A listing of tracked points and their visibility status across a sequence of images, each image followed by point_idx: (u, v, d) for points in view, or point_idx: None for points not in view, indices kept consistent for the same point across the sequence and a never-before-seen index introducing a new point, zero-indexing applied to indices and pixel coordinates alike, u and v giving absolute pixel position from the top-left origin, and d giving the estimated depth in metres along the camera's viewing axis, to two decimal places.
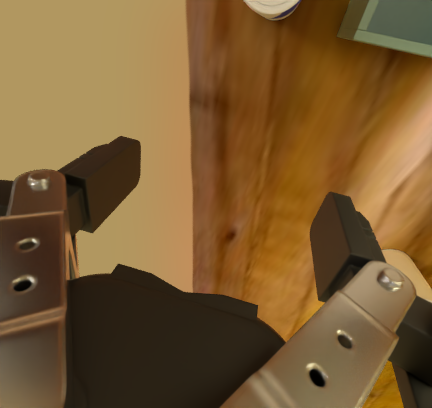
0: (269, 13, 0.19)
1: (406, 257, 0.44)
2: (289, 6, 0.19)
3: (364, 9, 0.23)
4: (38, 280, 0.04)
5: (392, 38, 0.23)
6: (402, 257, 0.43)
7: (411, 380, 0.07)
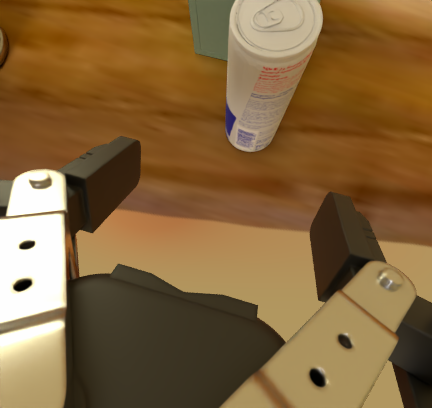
0: (321, 21, 0.15)
1: None
2: (316, 0, 0.16)
3: None
4: (38, 280, 0.04)
5: None
6: None
7: (411, 380, 0.07)
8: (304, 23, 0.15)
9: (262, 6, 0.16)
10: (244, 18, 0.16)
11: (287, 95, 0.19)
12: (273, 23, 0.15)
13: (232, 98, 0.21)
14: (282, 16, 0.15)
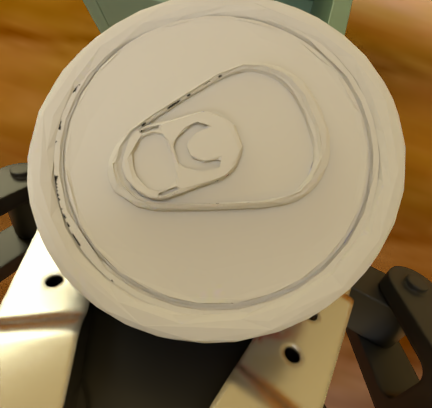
0: (402, 165, 0.04)
1: None
2: (375, 75, 0.04)
3: None
4: None
5: None
6: None
7: (364, 345, 0.07)
8: (331, 174, 0.04)
9: (166, 98, 0.04)
10: (89, 147, 0.04)
11: None
12: (198, 181, 0.04)
13: None
14: (237, 144, 0.04)
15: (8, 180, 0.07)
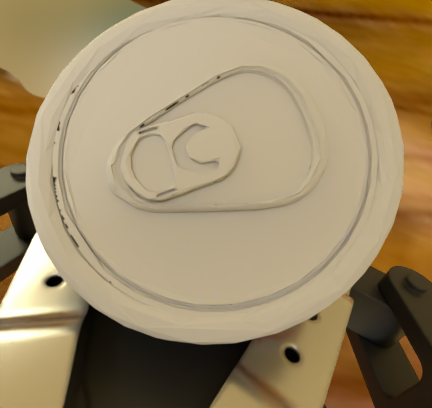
0: (400, 166, 0.04)
1: None
2: (373, 76, 0.04)
3: None
4: None
5: None
6: None
7: (364, 345, 0.07)
8: (330, 175, 0.04)
9: (164, 99, 0.04)
10: (87, 149, 0.04)
11: None
12: (197, 182, 0.04)
13: None
14: (236, 146, 0.04)
15: (8, 180, 0.07)
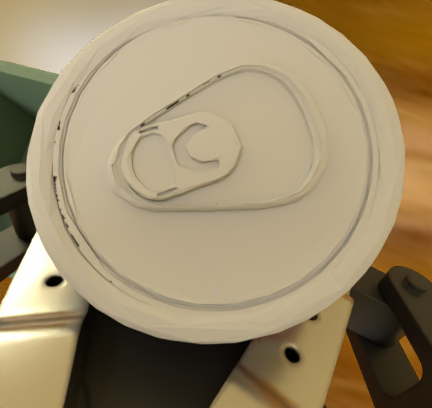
0: (401, 166, 0.04)
1: None
2: (374, 75, 0.04)
3: (10, 275, 0.14)
4: None
5: None
6: None
7: (364, 345, 0.07)
8: (330, 174, 0.04)
9: (165, 98, 0.04)
10: (88, 148, 0.04)
11: None
12: (197, 181, 0.04)
13: None
14: (236, 144, 0.04)
15: (8, 180, 0.07)
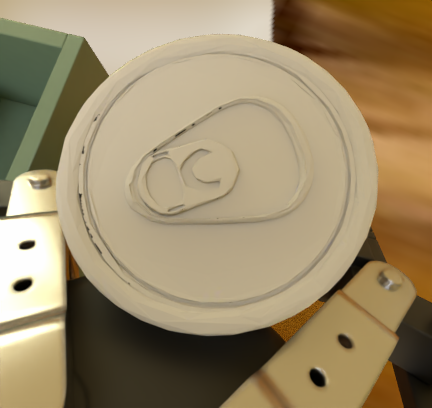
0: (375, 185, 0.04)
1: None
2: (353, 107, 0.05)
3: None
4: (38, 280, 0.04)
5: None
6: None
7: (411, 380, 0.07)
8: (314, 192, 0.04)
9: (173, 126, 0.05)
10: (108, 169, 0.05)
11: None
12: (202, 199, 0.04)
13: None
14: (234, 167, 0.04)
15: None
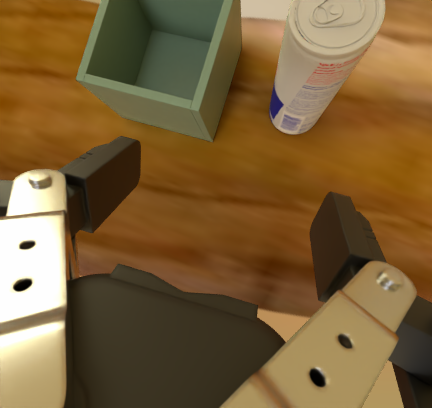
0: (384, 13, 0.15)
1: None
2: None
3: (175, 106, 0.23)
4: (38, 280, 0.04)
5: (202, 74, 0.22)
6: None
7: (411, 380, 0.07)
8: (365, 16, 0.15)
9: (322, 0, 0.16)
10: (303, 14, 0.16)
11: (339, 85, 0.20)
12: (333, 18, 0.15)
13: (282, 87, 0.22)
14: (342, 10, 0.15)
15: None
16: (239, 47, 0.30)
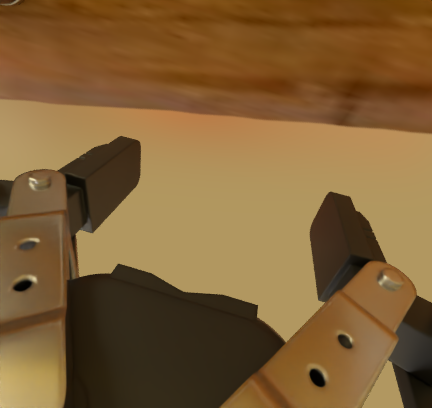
0: None
1: None
2: None
3: None
4: (38, 280, 0.04)
5: None
6: None
7: (411, 380, 0.07)
8: None
9: None
10: None
11: None
12: None
13: None
14: None
15: None
16: None
